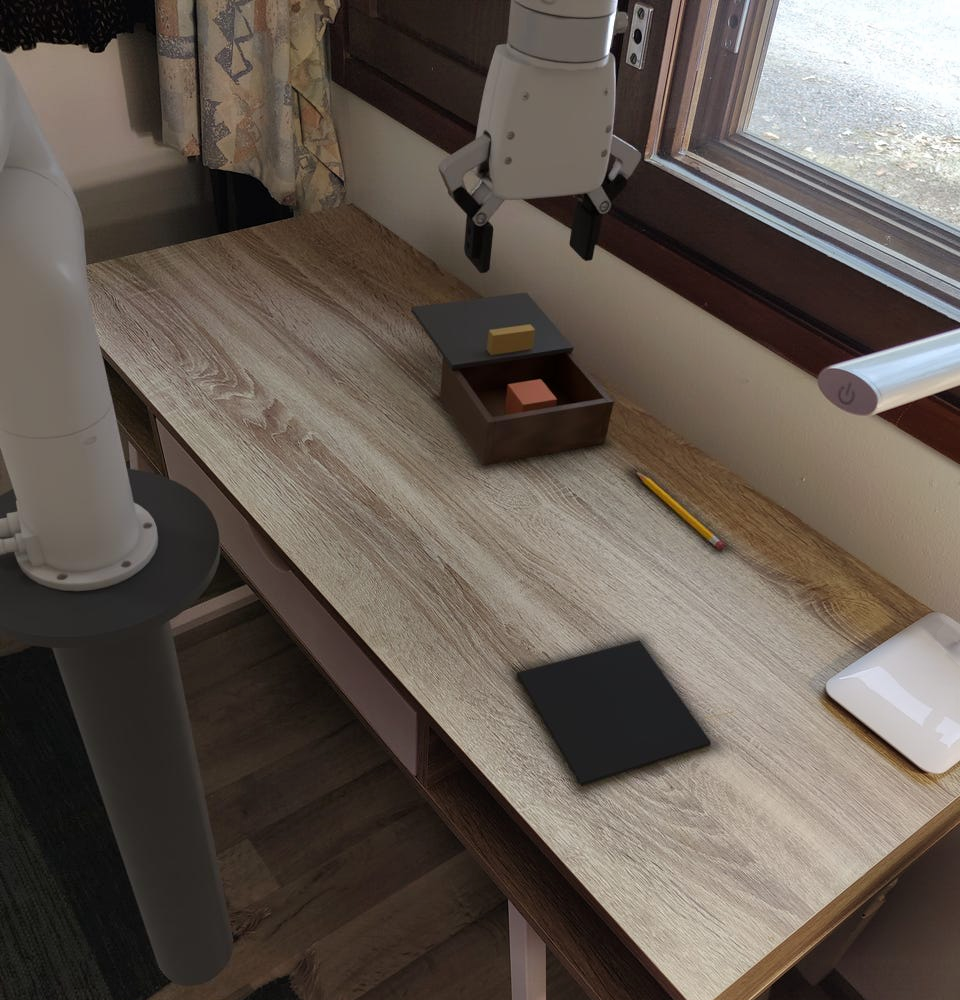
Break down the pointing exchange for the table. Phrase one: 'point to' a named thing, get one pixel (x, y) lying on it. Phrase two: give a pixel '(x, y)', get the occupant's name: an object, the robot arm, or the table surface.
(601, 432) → the box
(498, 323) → the sliding lid
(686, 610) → the table surface
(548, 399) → the block
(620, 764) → the mat
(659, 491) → the pencil
